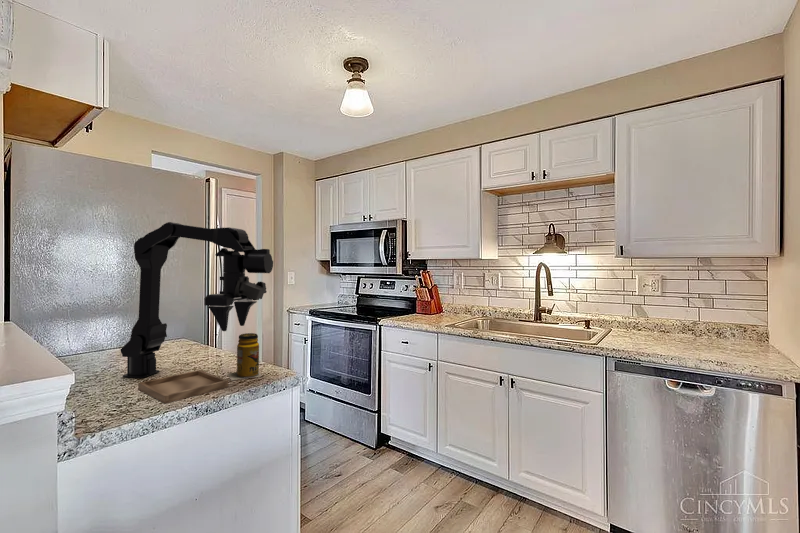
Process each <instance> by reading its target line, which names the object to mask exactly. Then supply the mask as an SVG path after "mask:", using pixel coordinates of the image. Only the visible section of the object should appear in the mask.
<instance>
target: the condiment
mask: <svg viewBox="0 0 800 533" xmlns="http://www.w3.org/2000/svg"><path fill="white" fill-rule="evenodd" d="M258 337H259V336H258V334H257V333H255V332H254V333H253V332H251V333H250V332H249V333H246V332H245V333H242V334H239V335H238V344H237V345H236V346H237V347H236V371H235V372H227V373H226V374H227V376H228V378H229V379H230V381H236V380H237V381H238V380H244V379H250V378H252V379H253V378H259V377H263V374H261V373H260V372H259V371H260V370H259V367H260V364H259V363H260V343H259V342H258V341H259V340H258Z"/></svg>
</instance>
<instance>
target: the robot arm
mask: <svg viewBox="0 0 800 533" xmlns="http://www.w3.org/2000/svg"><path fill="white" fill-rule="evenodd" d="M248 235H249V234H248V233H247V231H246V230H244V229H242V228H235V227H216V228H207V227H200V226H194V225H186V224H181V223H178V222H172V221H169V222H165V223H164V224H162V225H161V226H160V227H158V228H156V229H154V230H152V231H150V232H148V233H146V234H145V235H144V236H142V237H140V238H138V239H137V240H135V242H134V243H133V251H134V253H133V254H134V259H135V261H136V263H137V265H138V266H139V268H140V275H139V276H140V277H139V301H138V318H137V321H135V323H134V325H133V327H132V329H131V333H130V337H129V340H128V341H127V342H126V343H125V344H124V345H123V346H122V347H121V348H120V352H121V353H120V354H121V356H122V357H123V358H127V362H126V364H127V365H126V366H127V367H126V372H127V373H125V374H123V375H122V378H134V379H144V378H148V377H150V376H151V375H154V374H157V373H160V370H158V369H157V358H156V352H158V351H159V352H160V349H161V346H162V344H163V343H164V342H165V340H166V338H167V336H168V334H167V327H168V325H167V323H164V322H162V321H161V319H160V299H161V298H160V294H161V273H162V272H161V271H162V268H163V266H164V265H165V263H166V262H167V260H168V255H169V250H171V249H172V248H174V246H176V244H177V242H178V240H179V239H180V238H183V239H184V238H185V239H189V240H190V239H192V240H196V241H197V240H199V241H206V242H209V243H212V244H215V245H217V246H219V247H221V249H220V250H219V251H217V252H216V253H215V256H216V257H222V260H223V261H222V276H219V281H222V290H220V291H219V293H213V294H207V295H206V296H205V297H204V299H203V300H204V301H203V302H204V306H205V307H206V306H207V309H209V310H210V311H211V313H212V315H213V316H214V318H215V320H216V322H217V324H218V326H219V328H220V330H221V331H222V332H227V330H228V324H229V316H230V311H231V310H232V309H233V308H234V309H235V312H236V317H237V320H238V323H239V326H241V327H243V326H245V323H246V321H247V318H248V315H249V313H250V310H251V307H253V306H254V304H256V303H258V301H259V300H262V299H263V296H264V294H267V286H266V285H267V284H266V282H264V281H258V282H256V283H255V282H250V277H249V276H246V272H247V273H248V274H270V273H271V272H272V271H273V268H274V260H273V256H272V254H271V252H270V249H269V248H261V249H257V248H255V246H254V245H253V244H252V242H251V240H250V239H249V236H248ZM229 249H232V250H229ZM241 253H243V254H241ZM233 304H234V305H233Z"/></svg>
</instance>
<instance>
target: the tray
mask: <svg viewBox="0 0 800 533" xmlns="http://www.w3.org/2000/svg"><path fill="white" fill-rule="evenodd" d="M228 387H229V380H228V379H225V378H224V377H223V378H222V377H219V376H217V375H214V374H212V373H210V372H209V373H208V372H206V371H203V370H200V369H197V370H193V371H187V372H183V373H179V374H173V375H170V376H164V377H159V378H154V379H151V380H146V381H141V382H138V387H137V388H138V391H141V392H143V393H144V394H146V395H148V396H150V397H151V398H154V399H155V398H156V400H157V399H158V401H160V402H161V403H163V404H169V403H172V402H176V401H181V400H184V399H187V398H192V397H195V396H199V395H203V394H207V393H212V392H214V391H219V390H222V389H225V388H226V389H227V388H228Z"/></svg>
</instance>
